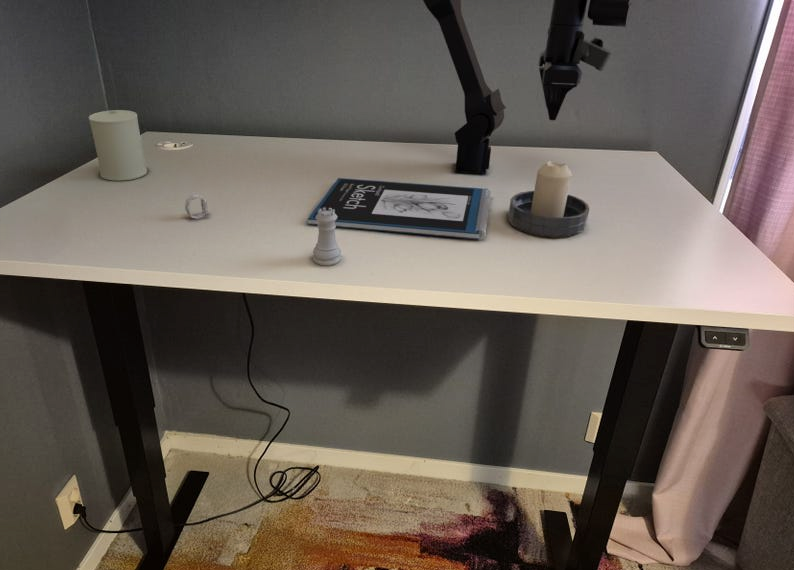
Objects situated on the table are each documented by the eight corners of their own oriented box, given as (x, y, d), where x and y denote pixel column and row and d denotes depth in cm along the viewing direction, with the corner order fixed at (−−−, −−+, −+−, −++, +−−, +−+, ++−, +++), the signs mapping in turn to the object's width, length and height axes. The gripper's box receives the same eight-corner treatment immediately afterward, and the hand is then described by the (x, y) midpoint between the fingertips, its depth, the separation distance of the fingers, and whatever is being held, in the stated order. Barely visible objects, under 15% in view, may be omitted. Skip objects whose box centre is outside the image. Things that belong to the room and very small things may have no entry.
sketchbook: (338, 184, 127) (338, 174, 126) (490, 197, 121) (492, 186, 120) (307, 224, 109) (307, 213, 108) (484, 242, 104) (486, 230, 103)
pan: (508, 235, 106) (511, 214, 104) (507, 207, 117) (510, 188, 115) (588, 241, 104) (593, 221, 102) (580, 212, 115) (584, 193, 113)
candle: (566, 218, 111) (578, 161, 106) (556, 229, 107) (567, 170, 102) (535, 212, 114) (545, 156, 108) (524, 221, 110) (534, 164, 104)
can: (146, 164, 136) (135, 106, 129) (148, 178, 129) (138, 117, 122) (100, 168, 133) (87, 109, 127) (100, 182, 126) (87, 120, 119)
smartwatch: (188, 221, 110) (185, 199, 108) (185, 217, 112) (182, 195, 110) (209, 218, 112) (206, 196, 109) (205, 213, 113) (202, 192, 111)
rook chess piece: (312, 254, 100) (310, 205, 95) (340, 253, 100) (340, 204, 96) (313, 267, 96) (311, 216, 91) (342, 266, 96) (342, 216, 92)
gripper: (621, 32, 105) (600, 129, 113) (606, 18, 120) (588, 105, 128) (552, 30, 106) (536, 125, 115) (545, 17, 122) (532, 102, 130)
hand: (550, 114), depth 122 cm, fingers open, 9 cm apart
